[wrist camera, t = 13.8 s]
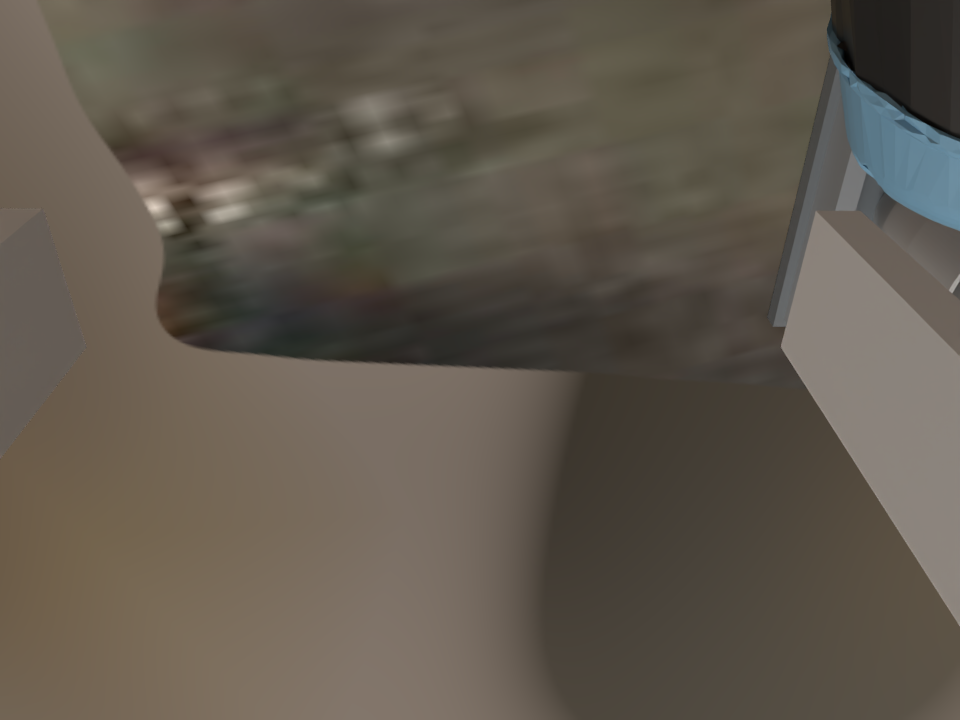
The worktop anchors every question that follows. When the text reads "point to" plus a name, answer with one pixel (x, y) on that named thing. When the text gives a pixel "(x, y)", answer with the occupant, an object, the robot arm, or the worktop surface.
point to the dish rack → (822, 190)
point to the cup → (922, 241)
